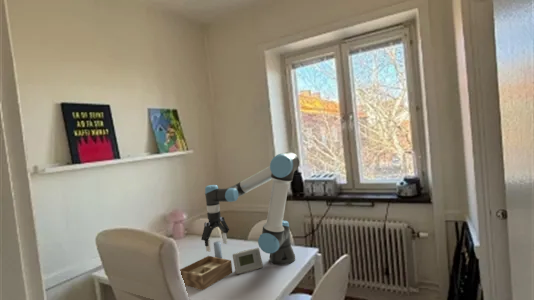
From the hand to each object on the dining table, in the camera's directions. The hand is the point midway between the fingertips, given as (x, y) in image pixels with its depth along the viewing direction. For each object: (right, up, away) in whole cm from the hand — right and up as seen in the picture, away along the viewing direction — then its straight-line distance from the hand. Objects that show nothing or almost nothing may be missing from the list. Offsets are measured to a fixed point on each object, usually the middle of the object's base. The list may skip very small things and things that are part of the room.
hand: (217, 247), depth 189 cm
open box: (-3, -12, -15) cm, 19 cm away
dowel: (+1, -11, 0) cm, 11 cm away
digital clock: (+19, -10, -9) cm, 24 cm away
